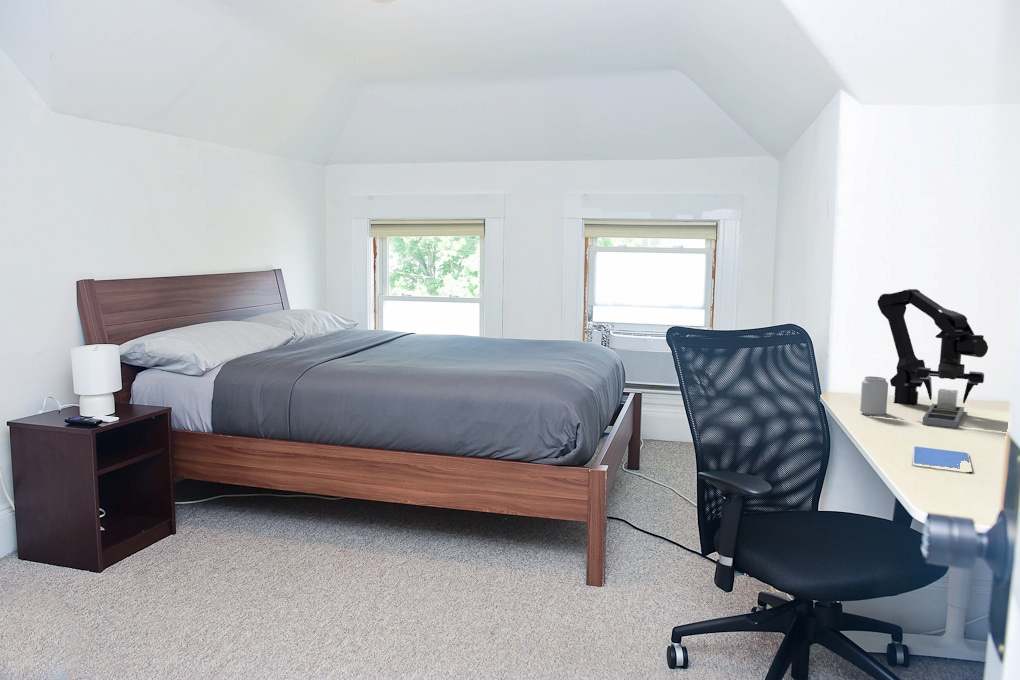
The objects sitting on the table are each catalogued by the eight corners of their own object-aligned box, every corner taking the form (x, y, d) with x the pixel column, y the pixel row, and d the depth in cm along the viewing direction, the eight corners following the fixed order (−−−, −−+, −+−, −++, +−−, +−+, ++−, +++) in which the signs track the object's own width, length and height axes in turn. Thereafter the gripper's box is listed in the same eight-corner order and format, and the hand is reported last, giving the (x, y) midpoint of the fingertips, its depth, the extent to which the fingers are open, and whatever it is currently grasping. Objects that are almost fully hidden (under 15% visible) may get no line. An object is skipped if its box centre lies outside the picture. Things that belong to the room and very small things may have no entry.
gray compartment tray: (922, 424, 218) (922, 417, 218) (931, 409, 240) (932, 403, 240) (957, 428, 213) (957, 421, 213) (963, 413, 235) (964, 407, 235)
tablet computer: (912, 450, 190) (912, 445, 190) (968, 456, 184) (969, 451, 184) (911, 468, 174) (911, 462, 174) (973, 476, 168) (973, 470, 167)
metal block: (936, 412, 233) (938, 390, 232) (938, 409, 237) (939, 388, 236) (954, 414, 230) (956, 392, 229) (956, 411, 234) (957, 390, 233)
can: (880, 412, 235) (882, 375, 234) (890, 417, 228) (892, 379, 227) (856, 411, 236) (858, 375, 235) (865, 416, 229) (867, 379, 227)
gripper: (914, 353, 230) (910, 401, 232) (984, 358, 220) (980, 409, 221) (918, 350, 239) (915, 396, 241) (986, 354, 229) (981, 403, 230)
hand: (947, 401), depth 233 cm, fingers open, 9 cm apart
